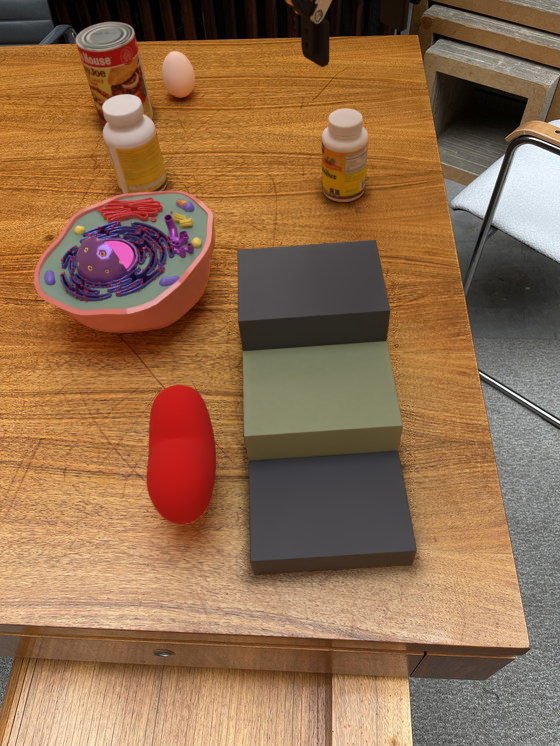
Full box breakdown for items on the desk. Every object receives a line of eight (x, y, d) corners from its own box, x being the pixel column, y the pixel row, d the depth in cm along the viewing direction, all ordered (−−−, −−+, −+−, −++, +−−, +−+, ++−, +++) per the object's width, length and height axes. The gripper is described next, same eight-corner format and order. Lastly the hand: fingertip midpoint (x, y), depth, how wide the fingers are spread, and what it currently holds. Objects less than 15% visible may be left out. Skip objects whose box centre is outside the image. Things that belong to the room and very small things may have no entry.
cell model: (260, 281, 72) (251, 199, 63) (131, 396, 64) (99, 320, 55) (157, 224, 79) (136, 143, 70) (28, 320, 71) (-15, 243, 62)
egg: (173, 108, 96) (164, 64, 90) (161, 93, 98) (152, 50, 93) (202, 98, 97) (195, 54, 91) (190, 84, 99) (182, 41, 94)
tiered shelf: (369, 318, 68) (376, 239, 59) (412, 564, 52) (430, 506, 43) (248, 327, 68) (237, 249, 60) (253, 575, 52) (239, 518, 43)
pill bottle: (177, 189, 84) (158, 106, 74) (132, 208, 82) (108, 126, 72) (154, 166, 87) (134, 84, 78) (111, 184, 85) (85, 102, 76)
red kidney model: (165, 437, 60) (141, 374, 53) (222, 431, 61) (207, 367, 53) (161, 555, 53) (132, 504, 45) (225, 549, 53) (208, 496, 45)
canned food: (90, 118, 95) (64, 36, 86) (134, 97, 98) (114, 16, 88) (118, 139, 91) (94, 56, 82) (163, 117, 94) (145, 34, 85)
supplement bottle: (314, 184, 83) (313, 110, 74) (354, 173, 83) (357, 99, 75) (331, 209, 79) (332, 135, 71) (372, 197, 80) (377, 123, 72)
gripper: (303, -155, 42) (308, 91, 56) (484, -209, 48) (448, 26, 61) (239, -175, 46) (258, 60, 60) (413, -223, 52) (395, 1, 65)
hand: (355, 43), depth 61 cm, fingers open, 9 cm apart
